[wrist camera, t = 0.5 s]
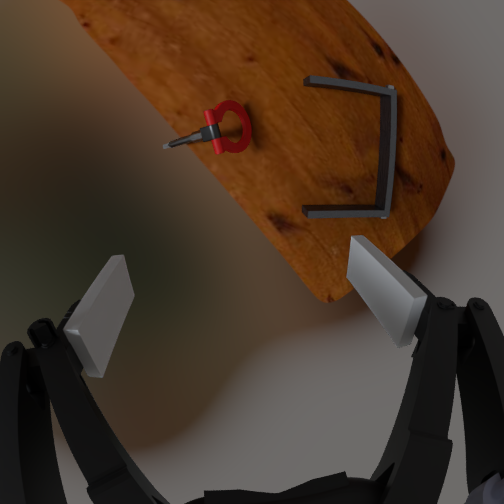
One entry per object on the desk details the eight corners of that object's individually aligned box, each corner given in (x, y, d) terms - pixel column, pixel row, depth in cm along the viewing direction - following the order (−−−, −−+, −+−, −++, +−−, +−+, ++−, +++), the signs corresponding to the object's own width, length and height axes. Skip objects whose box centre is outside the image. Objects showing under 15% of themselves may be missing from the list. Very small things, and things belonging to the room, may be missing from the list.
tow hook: (258, 145, 35) (222, 160, 30) (204, 155, 41) (167, 170, 36) (246, 97, 32) (206, 103, 27) (192, 115, 38) (153, 125, 33)
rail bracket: (303, 72, 31) (309, 68, 29) (390, 86, 33) (401, 85, 30) (301, 218, 40) (307, 225, 37) (383, 216, 41) (393, 223, 39)
